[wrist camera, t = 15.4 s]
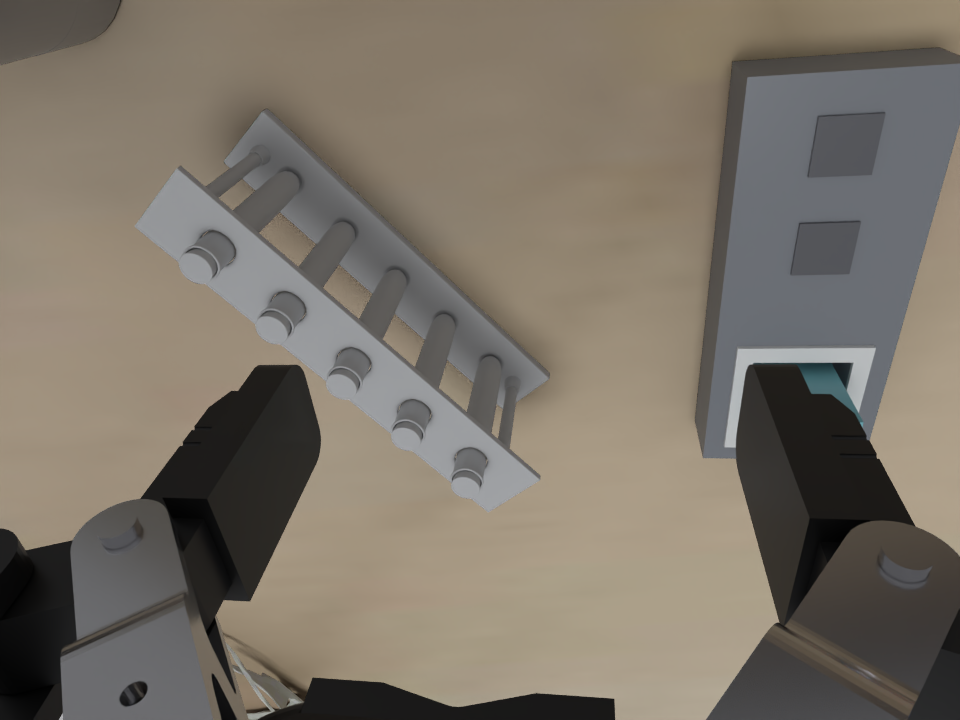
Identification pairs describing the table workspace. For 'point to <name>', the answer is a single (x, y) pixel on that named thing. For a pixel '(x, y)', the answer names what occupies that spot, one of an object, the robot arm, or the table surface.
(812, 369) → the block
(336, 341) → the test tube rack
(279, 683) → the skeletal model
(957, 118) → the power strip
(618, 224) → the table surface
